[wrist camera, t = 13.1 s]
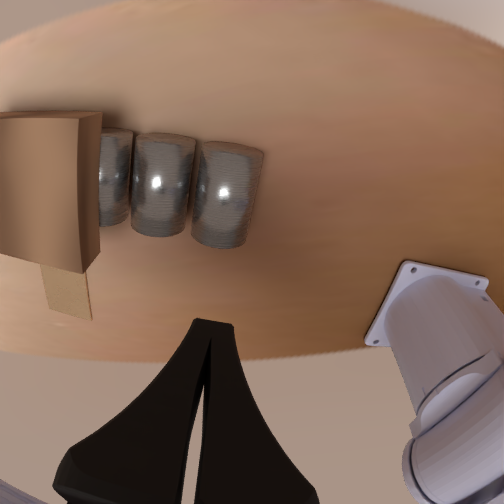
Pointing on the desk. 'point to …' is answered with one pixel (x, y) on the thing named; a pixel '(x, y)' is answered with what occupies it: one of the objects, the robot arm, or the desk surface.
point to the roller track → (165, 198)
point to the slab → (50, 187)
